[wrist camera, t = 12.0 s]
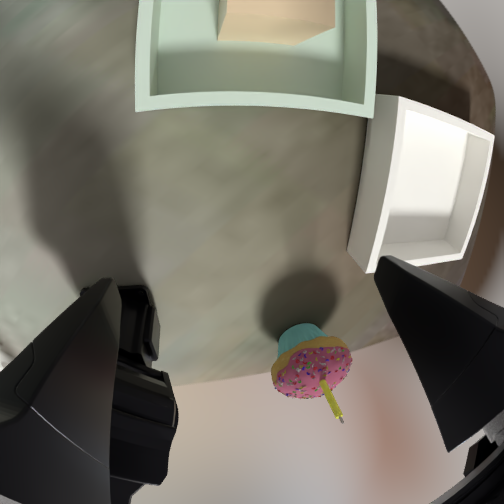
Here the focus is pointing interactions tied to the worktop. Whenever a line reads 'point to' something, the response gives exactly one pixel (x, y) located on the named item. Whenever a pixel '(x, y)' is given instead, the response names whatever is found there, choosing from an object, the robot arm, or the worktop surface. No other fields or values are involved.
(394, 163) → the bin
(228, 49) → the bin
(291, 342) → the cupcake
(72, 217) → the worktop surface
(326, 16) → the beige plain cubic block
